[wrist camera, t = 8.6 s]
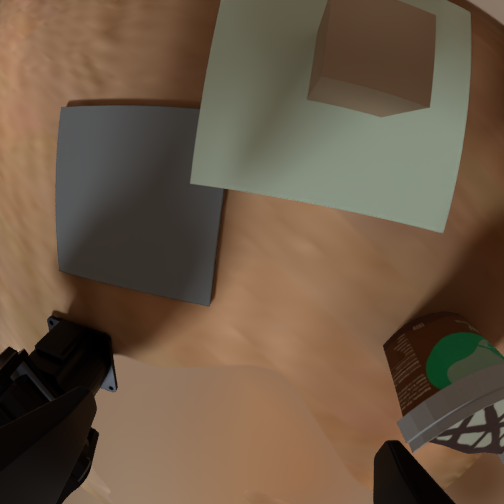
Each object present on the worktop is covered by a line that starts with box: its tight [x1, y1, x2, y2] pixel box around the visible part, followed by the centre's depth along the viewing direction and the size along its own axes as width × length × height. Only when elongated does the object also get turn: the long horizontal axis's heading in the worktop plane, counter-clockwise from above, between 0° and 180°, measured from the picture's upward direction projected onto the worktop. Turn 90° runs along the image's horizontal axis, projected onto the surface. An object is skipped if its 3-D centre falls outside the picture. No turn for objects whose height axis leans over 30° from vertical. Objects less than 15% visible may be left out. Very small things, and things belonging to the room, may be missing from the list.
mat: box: [56, 105, 225, 306], centre depth 19 cm, size 12×12×1 cm
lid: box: [190, 0, 471, 233], centre depth 9 cm, size 11×11×5 cm
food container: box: [383, 312, 504, 464], centre depth 15 cm, size 12×6×10 cm, turn 62°
